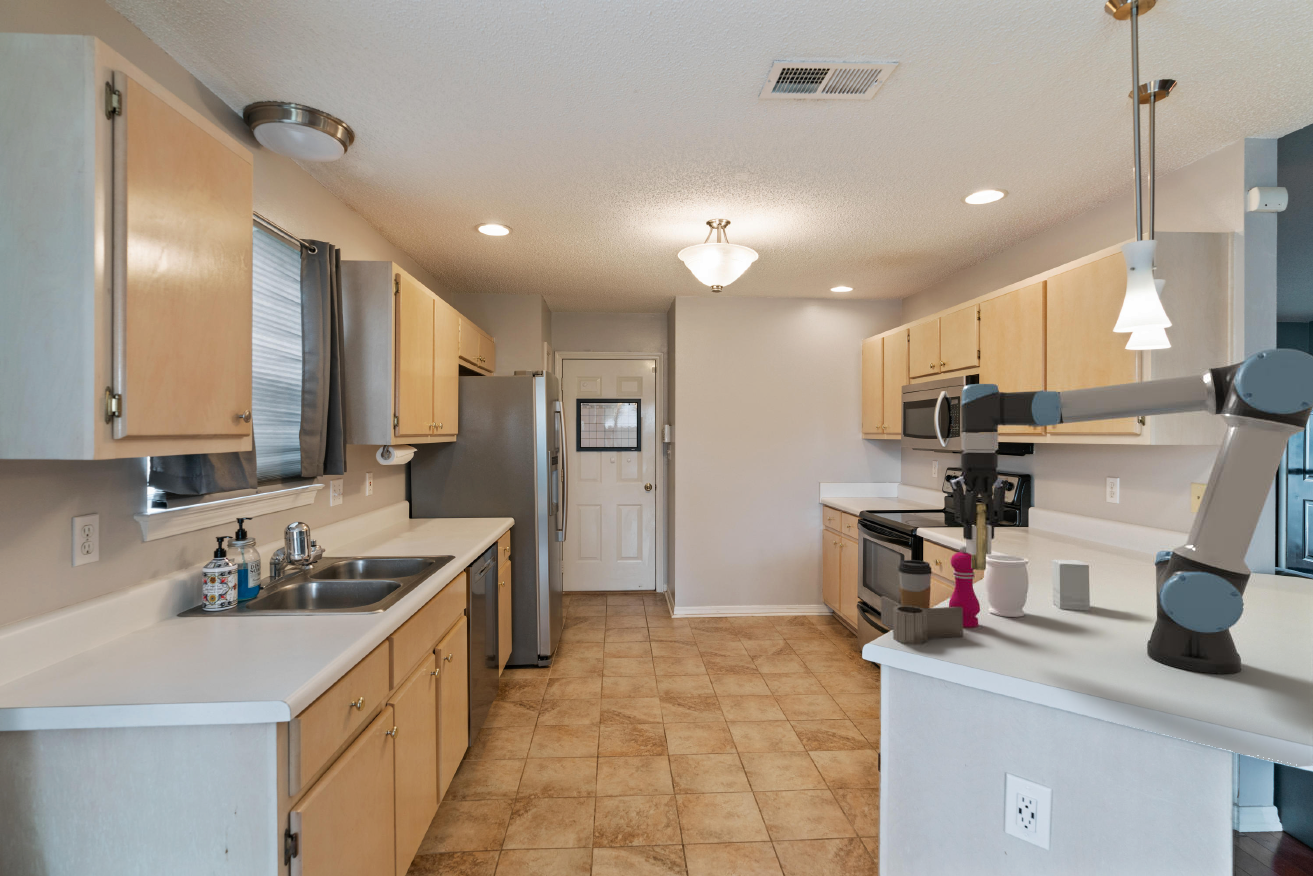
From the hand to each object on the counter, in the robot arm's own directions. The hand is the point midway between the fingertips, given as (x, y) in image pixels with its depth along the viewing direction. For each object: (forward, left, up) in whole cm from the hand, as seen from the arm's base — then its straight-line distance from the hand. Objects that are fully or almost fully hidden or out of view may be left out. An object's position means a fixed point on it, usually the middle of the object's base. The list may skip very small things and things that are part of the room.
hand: (978, 553), depth 145 cm
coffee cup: (+22, +3, -21) cm, 31 cm away
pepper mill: (+16, -7, -21) cm, 28 cm away
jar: (+23, -24, -21) cm, 40 cm away
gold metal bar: (0, 0, -4) cm, 4 cm away
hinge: (+12, +8, -21) cm, 26 cm away
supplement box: (+26, -46, -22) cm, 57 cm away
